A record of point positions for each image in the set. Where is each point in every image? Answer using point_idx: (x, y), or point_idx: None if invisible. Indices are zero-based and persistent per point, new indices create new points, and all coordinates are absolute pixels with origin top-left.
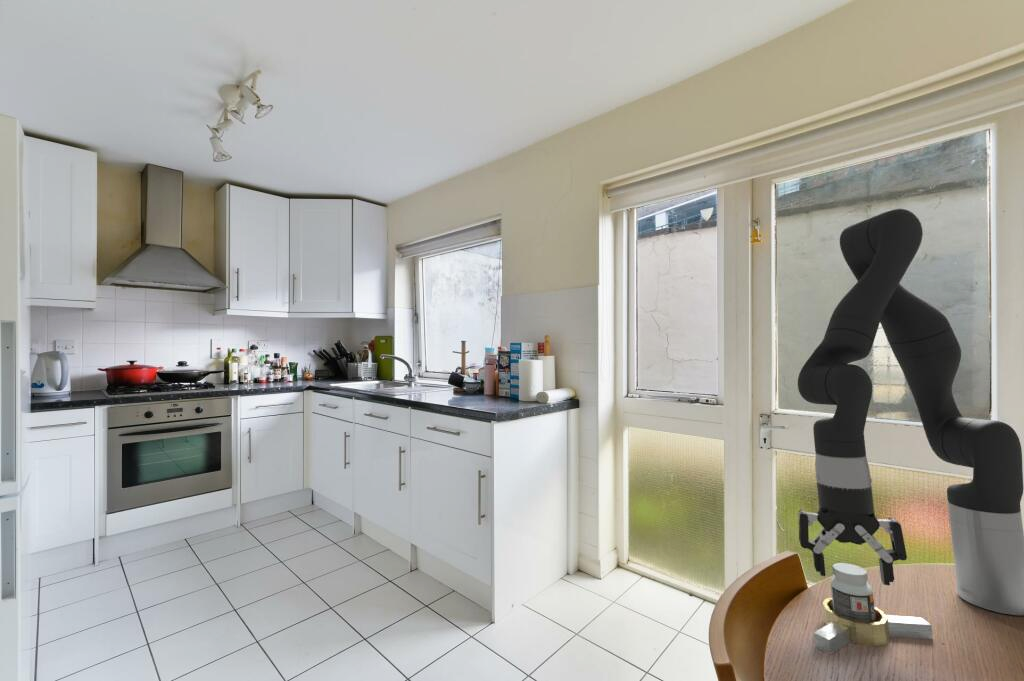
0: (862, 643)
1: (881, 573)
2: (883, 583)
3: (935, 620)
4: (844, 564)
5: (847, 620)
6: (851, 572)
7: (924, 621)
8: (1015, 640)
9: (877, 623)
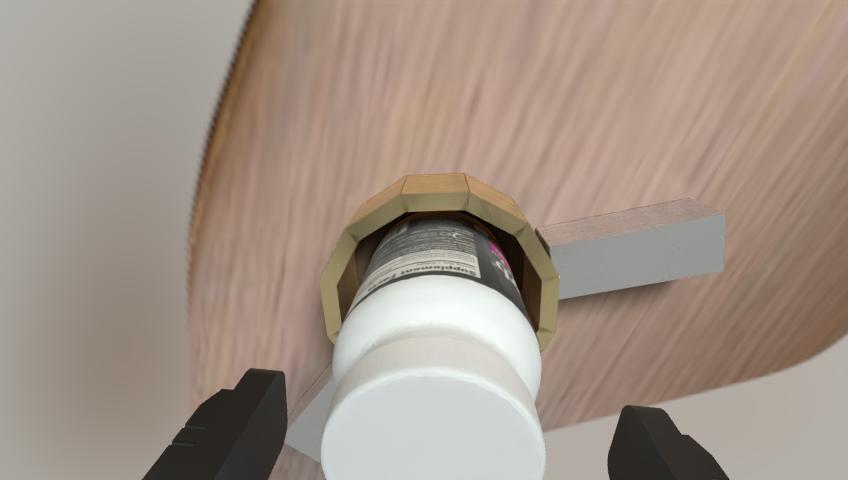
0: None
1: (644, 476)
2: (611, 449)
3: (812, 72)
4: (416, 401)
5: None
6: None
7: (714, 250)
8: None
9: None
